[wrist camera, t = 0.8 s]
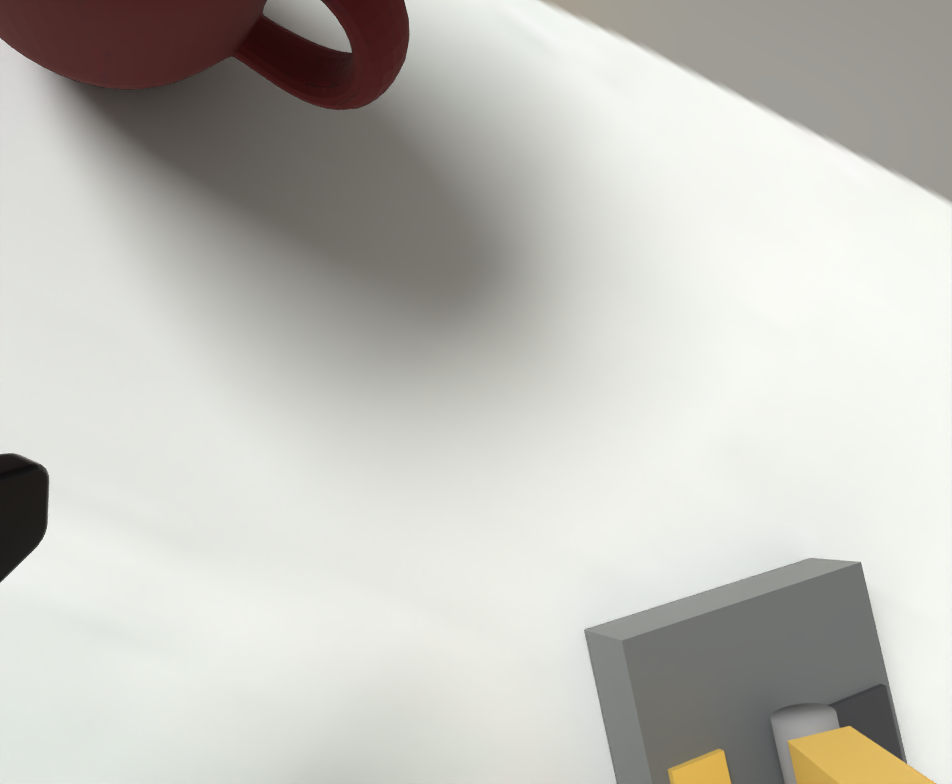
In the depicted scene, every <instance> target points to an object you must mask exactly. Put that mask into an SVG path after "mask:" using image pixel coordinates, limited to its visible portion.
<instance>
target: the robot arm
mask: <svg viewBox="0 0 952 784" xmlns="http://www.w3.org/2000/svg"><path fill="white" fill-rule="evenodd" d="M48 498H49V475H48V472H47V470H46V468H45V467H43V466H42V465H41V464H39V463H37V462H34V461H32V460H30V459H28V458H26V457H23V456H21V455H18V454H13V453H8V454H0V582H1V581H3V580H4V579H5V578H6V577H7V576H8V575H9V574H10V573H11V572H12V571H13V570H14V569H15V568H16V567H17V566H18V565H19V564H20V563H21V562H22V561H23V560H24V559H25V558H26V557H27V556H28V555H29V554H30V553H31V552H32V551H33V550H34V549H35V548H36V547H37V546H38V545H39V543H40V542H41V540H42V539H43V537H44V535H45V532H46V529H47V523H48Z"/></svg>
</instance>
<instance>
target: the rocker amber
mask: <svg viewBox="0 0 952 784" xmlns="http://www.w3.org/2000/svg"><path fill="white" fill-rule="evenodd" d="M770 720H771V724H772V729H773V733H774V738H775V742H776V747H777V751H778V756H779V760H780V765H781V769H782V774H783V778H784V783H785V784H936V783H934V782H933V781H931V780H930V779H928V778H927V777H925V776H924V775H923V774H921V773H920V772H918V771H917V770H915V769H914V768H912V767H911V766H909V765H908V764H906V763H905V762H903V761H902V760H900V759H899V758H897V757H896V756H894V755H893V754H891V753H890V752H888V751H887V750H885V749H884V748H882V747H881V746H879V745H878V744H876V743H875V742H873V741H872V740H870V739H869V738H867V737H866V736H864V735H863V734H861V733H860V732H858V731H857V730H855V729H854V728H852V727H851V726H847V727H843V728H840V727H839V722H838V718H837V714H836V710H835V709H834V708H832V707H830V706H828V705H824V704H818V703H802V704H794V705H789V706H786V707H783V708H780V709H778V710H776V711H775V712H773V713H772V714H771V716H770Z"/></svg>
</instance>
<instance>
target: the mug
mask: <svg viewBox="0 0 952 784" xmlns="http://www.w3.org/2000/svg"><path fill="white" fill-rule="evenodd" d="M266 1H267V0H0V38H1V39H2V40H4V41H5V42H6V43H7V44H8V45H10V46H11V47H12V48H14V49H15V50H16V51H18V52H19V53H21V54H22V55H24V56H25V57H27V58H28V59H30V60H32V61H34V62H35V63H37V64H39V65H41V66H43V67H45V68H47V69H49V70H51V71H53V72H55V73H57V74H59V75H62V76H65V77H67V78H70V79H72V80H76V81H79V82H83V83H86V84H90V85H95V86H100V87H105V88H114V89H143V88H152V87H158V86H163V85H167V84H171V83H174V82H177V81H180V80H183V79H185V78H188V77H190V76H192V75H194V74H197V73H199V72H201V71H203V70H205V69H207V68H209V67H211V66H213V65H215V64H216V63H218V62H220V61H222V60H224V59H226V58H228V57H231V56H232V57H235V58H237V59H238V60H240V61H241V62H243V63H244V64H246V65H247V66H249V67H250V68H252V69H253V70H254V71H256V72H257V73H259V74H260V75H262V76H263V77H265V78H266V79H268V80H269V81H271V82H272V83H273V84H275V85H276V86H278V87H280V88H281V89H283V90H285V91H286V92H288V93H290V94H292V95H293V96H295V97H297V98H299V99H301V100H303V101H306V102H308V103H311V104H313V105H316V106H320V107H323V108H327V109H336V110H344V109H357V108H360V107H362V106H365V105H367V104H369V103H371V102H372V101H374V100H376V99H377V98H378V97H379V96H381V95H382V94H383V93H384V92H385V91H386V90H387V89H388V88H389V86H390V85H391V84H392V83H393V82H394V80H395V78H396V76H397V75H398V73H399V71H400V69H401V67H402V65H403V63H404V61H405V58H406V53H407V48H408V42H409V18H408V14H407V10H406V6H405V2H404V0H321V1H322V2H323V3H324V4H325V5H326V6H327V7H328V8H329V9H330V10H331V12H332V13H333V14H334V15H335V16H336V18H337V19H338V21H339V22H340V24H341V25H342V27H343V29H344V30H345V32H346V34H347V37H348V39H349V41H350V45H351V48H352V53H348V52H341V51H337V50H333V49H329V48H327V47H324V46H321V45H318V44H316V43H314V42H311V41H309V40H307V39H305V38H303V37H301V36H299V35H297V34H295V33H292V32H290V31H289V30H287V29H285V28H283V27H282V26H280V25H278V24H276V23H275V22H273V21H271V20H270V19H269V18H267V17H266V16H264V15H263V7H264V5H265V3H266Z"/></svg>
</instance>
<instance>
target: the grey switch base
mask: <svg viewBox="0 0 952 784" xmlns="http://www.w3.org/2000/svg"><path fill="white" fill-rule="evenodd" d="M584 631H585V636H586V640H587V645H588V650H589V654H590V659H591V664H592V668H593V673H594V678H595V682H596V687H597V692H598V697H599V701H600V706H601V711H602V715H603V720H604V725H605V729H606V734H607V739H608V743H609V748H610V753H611V757H612V762H613V767H614V772H615V776H616V781H617V784H785V783H784V778H783V774H782V769H781V765H780V760H779V756H778V751H777V747H776V742H775V738H774V733H773V729H772V724H771V720H770V716H771V714H772V713H773V712H775V711H776V710H778V709H780V708H783V707H786V706H789V705H794V704H802V703H818V704H824V705H828V706H830V707H832V708H834V709H835V710H836V714H837V718H838V722H839V727H840V728H843V727H847V726H851V727H852V728H854V729H855V730H857V731H858V732H860V733H861V734H863V735H864V736H866V737H867V738H869V739H870V740H872V741H873V742H875V743H876V744H878V745H879V746H881V747H882V748H884V749H885V750H887V751H888V752H890V753H891V754H893V755H894V756H896V757H897V758H899V759H900V760H902V761H903V762H905V763H906V764H907V761H906V756H905V752H904V748H903V743H902V739H901V735H900V730H899V726H898V722H897V717H896V713H895V709H894V704H893V700H892V695H891V691H890V687H889V682H888V678H887V674H886V669H885V665H884V661H883V656H882V652H881V648H880V643H879V639H878V635H877V630H876V626H875V621H874V617H873V613H872V608H871V604H870V600H869V595H868V591H867V587H866V582H865V578H864V574H863V569H862V565H861V562H854V561H841V560H829V559H817V558H810V559H806V560H803V561H800V562H797V563H794V564H791V565H787V566H784V567H781V568H778V569H775V570H772V571H768V572H765V573H762V574H759V575H756V576H753V577H750V578H746V579H743V580H740V581H737V582H734V583H731V584H727V585H724V586H721V587H718V588H715V589H712V590H708V591H705V592H702V593H699V594H696V595H693V596H690V597H686V598H683V599H680V600H677V601H674V602H671V603H667V604H664V605H661V606H658V607H655V608H652V609H648V610H645V611H642V612H639V613H636V614H633V615H630V616H626V617H623V618H620V619H617V620H614V621H611V622H607V623H604V624H601V625H598V626H595V627H592V628H589V629H585V630H584Z"/></svg>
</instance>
